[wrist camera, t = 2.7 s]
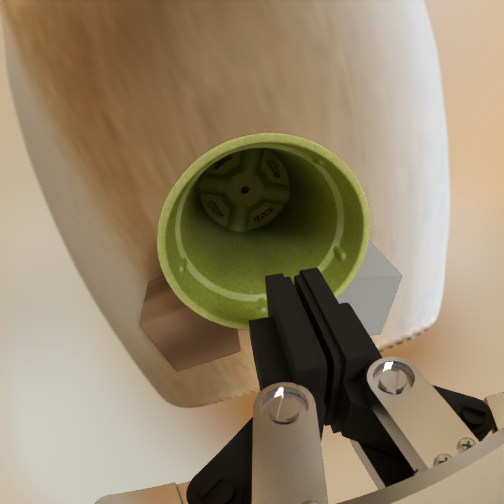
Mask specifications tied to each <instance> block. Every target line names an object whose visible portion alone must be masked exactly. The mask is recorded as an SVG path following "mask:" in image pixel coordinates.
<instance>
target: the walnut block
mask: <svg viewBox="0 0 504 504" xmlns="http://www.w3.org/2000/svg"><path fill="white" fill-rule="evenodd" d="M139 325H140V326H141V328H142V329H143V330H144V332H145V333H146V334H147V335H148V337H149V338H150V339H151V341H152V342H153V343H154V344H155V346H156V347H157V348H158V350H159V351H160V352H161V353H162V355H163V356H164V357H165V358H166V359H167V361H168V362H169V363H170V364H171V366H172V367H173V368H174V369H175V370H176V372H178V371H181V370H184V369H187V368H191V367H194V366H197V365H200V364H203V363H207V362H210V361H213V360H216V359H219V358H222V357H225V356H228V355H231V354H234V353H237V352H240V351H241V350H240V344H239V338H238V331H237V329H236V328H231V327H227V326H224V325H221V324H218V323H216V322H213V321H210V320H208V319H206V318H204V317H202V316H200V315H199V314H197V313H196V312H194V311H193V310H192V309H191V308H189V307H188V306H187V305H185V304H184V303H183V302H182V301H181V300H180V299H179V297H178V296H177V295H176V294H175V293H174V291H173V290H172V288H171V287H170V285H169V284H168V282H167V280H166V278H165V276H163V277H160V278H158V279H155V280H153V281H150V282H148V287H147V291H146V296H145V300H144V305H143V309H142V314H141V319H140V324H139Z"/></svg>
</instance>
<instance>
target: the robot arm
mask: <svg viewBox="0 0 504 504" xmlns="http://www.w3.org/2000/svg"><path fill="white" fill-rule="evenodd" d="M265 285H266V296H267V308H268V317H265V318H259V319H253V320H248V322H249V330H250V337H251V344H252V350H253V356H254V361H255V366H256V371H257V376H258V381H259V386H260V391H261V392H260V393H259V394H258V395H257V397H256V399H255V401H254V406H253V417H252V418H251V419H250V420H249V421H248V423H247V424H246V425H245V426H244V427H243V428H242V429H241V430H240V431H239V432H238V433H237V434H236V436H234V437H233V439H232V440H231V441H230V442H229V443H228V444H227V445H226V446H225V447H224V448H223V449H222V450H221V451H220V452H219V453H218V454H217V455H216V456H215V457H214V458H213V459H212V460H211V461H210V462H209V463H208V464H207V465H206V466H205V467H204V468H203V469H202V470H201V471H200V472H199V473H198V474H197V475H196V476H195V477H194V478H193V479H192V480H191V481H189V482H185V483H181V484H177V485H176V483H170V484H166V485H161V486H157V487H152V488H147V489H142V490H137V491H131V492H125V493H119V494H113V495H107V496H104V497H102V498H100V499H99V500H98V501H97V502H95V504H328V498H327V489H326V481H325V472H324V465H323V456H322V448H321V439H322V433H323V426H324V425H325V426H327V425H331V428H332V431H333V433H337V432H340V431H341V433H342V436H344V437H346V438H349V439H350V441H351V443H352V446H353V448H354V450H355V451H356V453H357V455H358V456H359V458H360V460H361V461H362V463H363V465H364V466H365V468H366V469H367V471H368V473H369V475H370V476H371V478H372V480H373V481H374V483H375V485H376V486H377V488H378V491H375V492H372V493H369V494H366V495H363V496H360V497H357V498H354V499H351V500H347V501H344V502H341V503H337V504H504V392H502V393H499V394H495V395H491V396H488V397H486V398H485V399H484V400H483V401H482V400H479V399H477V398H474V397H471V396H467V395H464V394H460V393H457V392H453V391H450V390H447V389H443V388H440V387H437V386H433V385H431V384H430V383H429V381H428V380H427V379H426V378H425V377H424V376H423V374H422V373H421V372H420V371H419V370H418V369H417V368H416V367H415V366H414V365H413V364H412V363H411V362H409V361H407V360H405V359H403V358H398V357H385V358H382V356H381V354H380V353H379V351H378V349H377V348H376V346H375V344H374V343H373V341H372V339H371V338H370V336H369V334H368V333H367V331H366V329H365V328H364V326H363V324H362V323H361V321H360V319H359V318H358V316H357V315H356V313H355V311H354V310H353V308H352V307H351V305H350V304H349V303H347V302H345V303H341V304H339V302H338V301H337V299H336V297H335V296H334V294H333V292H332V291H331V289H330V287H329V285H328V284H327V282H326V280H325V279H324V277H323V275H322V274H321V272H320V271H319V269H318V268H317V267H316V268H310V269H304V270H300V272H299V275H295V276H294V284H293V282H292V280H291V278H290V277H284V275H283V273H279V274H273V275H266V276H265Z"/></svg>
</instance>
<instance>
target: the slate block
mask: <svg viewBox="0 0 504 504" xmlns="http://www.w3.org/2000/svg"><path fill="white" fill-rule="evenodd" d="M401 278H402V275H401V274H400V272H399V271H398V270H397V269H396V268H395V267H394V266H393V265H392V264H391V263H390V262H389V260H388V259H387V258H386V257H385V256H384V255H383V254H382V253H381V252H380V251H379V250H378V249H377V248H376V247H375V246H374V245H373V244H372V242H371V241H370V240H369V242H368V246H367V251H366V254H365V257H364V259H363V262H362V263H361V265H360V268H359V269H358V271H357V273H356V275H355V277H354V278H353V280H352V281H351V283H350V284H349V285H348V287H347V288H346V289H345V290H344V291H343V292H342V293H341V294H340V295H339V296H338V297H337V298H336V299H337V301H338V302H339V304H341V303H345V302H347V303H349V304H350V305H351V307H352V308H353V310H354V311H355V313H356V315H357V316H358V318H359V319H360V321H361V323H362V324H363V326H364V328H365V329H366V331H367V333H368V334H369V336H372V335H380V334H381V332H382V329H383V327H384V324H385V322H386V319H387V316H388V314H389V311H390V308H391V306H392V303H393V300H394V298H395V295H396V292H397V289H398V286H399V283H400V281H401Z"/></svg>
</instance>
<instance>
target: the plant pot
mask: <svg viewBox="0 0 504 504" xmlns="http://www.w3.org/2000/svg"><path fill="white" fill-rule="evenodd" d="M227 155H231V156H232V158H231V159H229V160H228V161H226V162H225V163H223V164H222V165H221V166H220V167H219V168H218V169H215V164H216V163H217V162H218V161H219V160H221V159H222V158H223V157H225V156H227ZM267 160H270V161H273V162H274V164H275V165H276V167H277V168H278V170H279V174H280V175H279V177H276V176H275V174H274V172H273V170H272V169H271V167H270V166H269V165H268V164H267ZM245 186H247V187H248V188H249V191H248V192H247V193H242V192H241V189H242V187H245ZM210 201H214V203H215V205H216V206H217V208H218V209H219V210H220V211H221V213H222V214H223V216H220V215H218V214H217V213H215V212H214V211H213V210H212V208H211V207H210ZM269 208H272V212H271V213H269V214H268V215H266V217H265V218H263V219H261V220H258V221H257V220H255V217H257V216H259V215H260V214H262V213H263V212H265V211H266V210H268V209H269ZM369 236H370V213H369V207H368V203H367V199H366V196H365V194H364V191H363V189H362V187H361V185H360V183H359V182H358V180H357V178H356V177H355V175H354V174H353V172H352V171H351V170H350V169H349V167H348V166H347V165H346V164H345V163H344V162H343V161H342V160H341V159H340V158H338V157H337V156H336V155H335V154H333V153H332V152H331V151H329V150H328V149H326V148H324V147H323V146H321V145H319V144H317V143H315V142H313V141H310V140H307V139H305V138H302V137H298V136H294V135H289V134H282V133H257V134H249V135H245V136H241V137H237V138H234V139H231V140H229V141H226V142H224V143H222V144H219V145H218V146H216V147H214V148H212V149H210V150H209V151H207V152H206V153H204V154H203V155H202V156H200V157H199V158H198V159H196V160H195V161H194V162H193V163H192V164H191V165H190V166H189V167H188V168H187V169H186V170H185V171H184V172H183V173H182V175H181V176H180V177H179V178H178V180H177V181H176V183H175V184H174V186H173V187H172V189H171V191H170V192H169V194H168V196H167V199H166V201H165V203H164V206H163V209H162V211H161V214H160V218H159V223H158V231H157V252H158V258H159V262H160V266H161V269H162V271H163V274H164V276H165V278H166V280H167V282H168V284H169V285H170V287H171V288H172V290H173V291H174V293H175V294H176V295H177V296H178V297H179V299H180V300H181V301H182V302H183V303H184V304H185V305H187V306H188V307H189V308H191V309H192V310H193V311H194V312H196V313H197V314H199V315H200V316H202V317H204V318H206V319H208V320H210V321H213V322H216V323H218V324H221V325H224V326H227V327H231V328H236V329H243V330H249V322H248V320H253V319H259V318H265V317H268V308H267V296H266V285H265V276H266V275H273V274H279V273H283V275H284V277H290V278H291V280H292V282H293V284H294V276H295V275H299V272H300V270H304V269H310V268H316V267H317V268H318V269H319V271H320V272H321V274H322V275H323V277H324V279H325V280H326V282H327V284H328V285H329V287H330V289H331V291H332V292H333V294H334V296H335V297H336V298H337V297H338V296H339V295H340V294H341V293H342V292H343V291H344V290H345V289H346V288H347V287H348V285H349V284H350V283H351V281H352V280H353V278H354V277H355V275H356V273H357V271H358V269H359V268H360V265H361V263H362V262H363V259H364V257H365V254H366V251H367V246H368V242H369Z"/></svg>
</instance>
